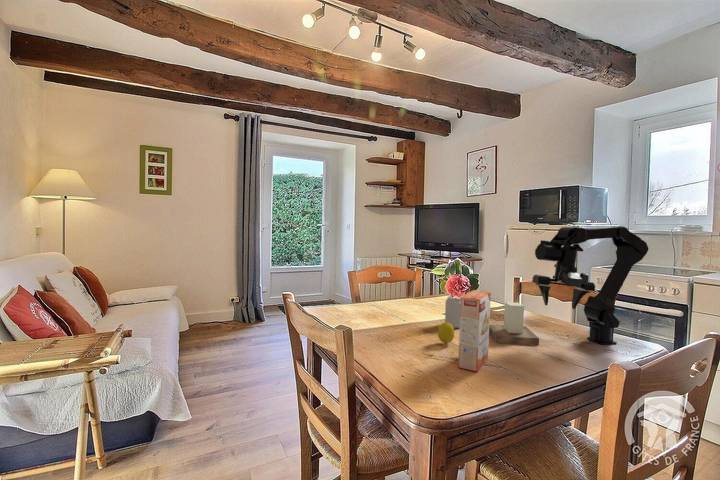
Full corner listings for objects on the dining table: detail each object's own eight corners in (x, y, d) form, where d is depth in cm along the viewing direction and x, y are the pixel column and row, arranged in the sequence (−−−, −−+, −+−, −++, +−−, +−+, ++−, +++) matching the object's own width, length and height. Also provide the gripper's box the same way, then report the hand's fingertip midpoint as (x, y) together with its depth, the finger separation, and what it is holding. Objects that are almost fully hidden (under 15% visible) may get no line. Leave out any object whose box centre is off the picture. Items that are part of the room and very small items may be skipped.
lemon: (457, 344, 121) (457, 321, 121) (449, 348, 117) (449, 324, 117) (442, 340, 125) (443, 318, 125) (434, 344, 121) (435, 321, 121)
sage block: (517, 329, 131) (518, 302, 131) (522, 333, 126) (524, 305, 126) (503, 328, 132) (504, 302, 131) (508, 332, 127) (510, 305, 126)
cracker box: (478, 373, 98) (480, 299, 97) (457, 368, 101) (459, 296, 100) (489, 357, 110) (491, 291, 109) (470, 353, 113) (471, 289, 112)
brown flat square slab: (525, 333, 135) (525, 326, 135) (538, 346, 121) (539, 338, 121) (487, 331, 137) (487, 324, 137) (496, 344, 123) (496, 336, 123)
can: (465, 329, 138) (465, 299, 137) (445, 328, 139) (446, 298, 139) (463, 324, 145) (464, 295, 145) (444, 323, 147) (445, 294, 146)
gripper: (548, 261, 115) (541, 308, 116) (608, 268, 113) (601, 316, 114) (534, 258, 126) (528, 301, 127) (589, 265, 124) (582, 308, 125)
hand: (559, 307), depth 123 cm, fingers open, 9 cm apart
